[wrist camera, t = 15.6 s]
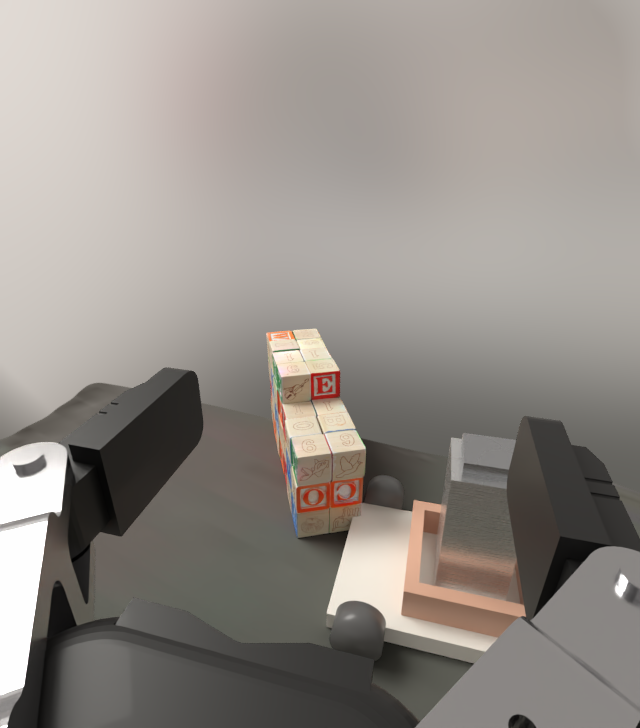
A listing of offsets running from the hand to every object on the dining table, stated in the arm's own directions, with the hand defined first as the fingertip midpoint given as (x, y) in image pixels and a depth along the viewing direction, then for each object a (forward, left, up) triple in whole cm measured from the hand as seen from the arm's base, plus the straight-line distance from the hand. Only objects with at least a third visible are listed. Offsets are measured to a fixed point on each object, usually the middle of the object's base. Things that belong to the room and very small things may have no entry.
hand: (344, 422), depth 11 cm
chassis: (+7, +18, -26) cm, 32 cm away
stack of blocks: (-10, +31, -26) cm, 42 cm away
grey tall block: (+7, +18, -25) cm, 31 cm away
